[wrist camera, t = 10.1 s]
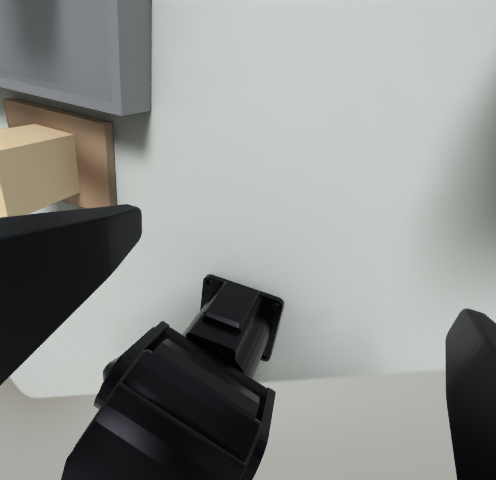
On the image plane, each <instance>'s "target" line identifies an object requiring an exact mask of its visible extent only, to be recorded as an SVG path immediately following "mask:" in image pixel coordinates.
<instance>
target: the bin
mask: <svg viewBox="0 0 496 480" xmlns="http://www.w3.org/2000/svg"><path fill="white" fill-rule="evenodd" d="M0 87H2V88H6V89H10V90H15V91H19V92H23V93H27V94H31V95H35V96H40V97H44V98H48V99H52V100H56V101H60V102H64V103H69V104H73V105H77V106H81V107H85V108H89V109H94V110H98V111H102V112H106V113H110V114H114V115H119V116H125V115H131V114H136V113H142V112H147V111H151V0H0Z"/></svg>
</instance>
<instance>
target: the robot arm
mask: <svg viewBox="0 0 496 480" xmlns="http://www.w3.org/2000/svg"><path fill="white" fill-rule="evenodd" d="M141 234H142V214H141V210H140V209H139V208H138V207H135V206H132V205H128V204H125V205H115V206H106V207H96V208H87V209H77V210H68V211H58V212H48V213H39V214H29V215H20V216H10V217H1V218H0V385H1V384H2V383H3V382H4V381H5V380H6V379H7V378H8V377H9V376H10V375H11V374H12V373H13V372H14V371H15V370H16V369H17V368H18V367H19V366H20V365H21V364H22V363H23V362H24V361H25V360H26V359H27V358H28V357H29V356H30V355H31V354H32V353H33V352H34V351H35V350H36V349H37V348H38V347H39V346H40V345H41V344H42V343H43V342H44V341H45V340H46V339H47V338H48V337H49V336H50V335H51V334H52V333H53V332H54V331H55V330H56V329H57V328H58V327H59V326H60V325H61V324H62V323H63V322H64V321H65V320H66V319H67V318H68V317H69V316H70V315H71V314H72V313H73V312H74V311H75V310H76V309H77V308H78V307H79V306H80V305H81V304H82V303H83V302H84V301H85V300H86V299H87V298H88V297H89V296H90V295H91V294H92V293H93V292H94V291H95V290H96V289H97V288H98V287H99V286H100V285H101V284H102V283H103V282H104V281H105V280H106V279H107V278H108V277H109V276H110V275H111V274H112V273H113V272H114V271H115V269H116V268H117V267H118V266H119V264H120V263H121V262H122V261H123V260H124V258H125V257H126V256H127V255H128V253H129V252H130V251H131V250H132V248H133V247H134V246H135V245H136V243H137V242H138V241H139V239H140V237H141ZM209 280H210V281H211V282H212V283H211V282H210V281H209ZM275 303H278V304H279V305H276V304H275ZM283 307H284V301H283V300H282V299H281V298H279V297H276V296H273V295H270V294H267V293H264V292H261V291H258V290H255V289H252V288H249V287H246V286H244V285H241V284H238V283H235V282H232V281H229V280H226V279H223V278H220V277H217V276H214V275H210V274H209V275H207V276H206V277H205V278H204V280H203V290H202V300H201V310H200V312H199V313H198V315H197V316H196V317H195V319H194V320H193V321H192V323H191V324H190V325H189V327H188V328H187V329H186V331H185V332H184V333H183V335H182V334H180V333H178V332H177V331H175V330H174V329H172V328H170V327H169V325H168V324H167V323H165V322H164V321H162V322H161V323H159V324H158V325H157V326H156V327H155V328H154V327H153V328H151V329H150V330H149V331H148V332H147V333H146V334H145V335H144V336H142V337H141V338H140V339H139V340H138V341H137V342H136V343H135V344H133V345H132V346H131V347H130V348H129V349H128V350H127V351H126V352H124V353H123V354H122V355H121V356H120V357H118V358H117V359H115V360H113V361H111V362H110V363H109V364H108V365H107V366H106V367H105V369H104V371H103V379H104V382H103V384H102V386H101V388H100V391H99V393H98V394H97V396H96V399H95V401H94V406H95V407H97V408H98V409H100V410H99V411H98V413H97V414H96V415H95V417H94V419H93V420H92V422H91V423H90V424H89V426H88V427H87V429H86V430H85V432H84V434H83V435H82V436H81V438H80V439H79V441H78V442H77V444H76V446H75V447H74V449H73V451H72V452H71V454H70V455H69V456H68V458H67V460H66V463H65V467H64V471H63V475H62V479H61V480H252V479H253V477H254V475H255V473H256V471H257V469H258V467H259V464H260V462H261V459H262V457H263V454H264V451H265V448H266V445H267V441H268V436H269V430H270V424H271V418H272V411H273V405H274V399H275V393H276V392H275V391H273V390H272V389H270V388H266V387H264V386H263V385H261V384H259V383H258V382H256V381H255V380H253V379H252V378H253V375H254V373H255V371H256V368H257V366H258V363H259V361H260V360H262V361H268V360H269V359H270V356H271V353H272V349H273V345H274V342H275V338H276V334H277V330H278V326H279V322H280V318H281V315H282V311H283ZM264 354H265V355H264ZM446 400H447V408H448V416H449V423H450V430H451V438H452V444H453V451H454V460H455V467H456V474H457V480H496V323H494V322H493V321H492V320H491V319H490V318H489V317H487V316H486V315H485V314H483V313H481V312H478V311H474V310H471V309H467V308H466V309H463V310H462V311H461V312H460V313H459V315H458V317H457V318H456V320H455V322H454V323H453V325H452V327H451V328H450V330H449V332H448V334H447V337H446Z"/></svg>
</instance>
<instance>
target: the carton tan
mask: <svg viewBox="0 0 496 480" xmlns="http://www.w3.org/2000/svg"><path fill="white" fill-rule="evenodd" d="M77 193H80V187H79V178H78V168H77V158H76V149H75V139H74V134H71V133H67V132H63V131H60V130H56V129H52V128H49V127H45V126H41V125H38V124H31V125H25V126H19V127H13V128H7V129H1V130H0V218H1V217H10V216H20V215H27V214H29V213H32V212H34V211H36V210H39V209H41V208H44V207H46V206H48V205H51V204H53V203H56V202H58V201H61V200H63V199H65V198H68V197H70V196H73V195H75V194H77Z"/></svg>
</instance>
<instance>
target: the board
mask: <svg viewBox="0 0 496 480" xmlns="http://www.w3.org/2000/svg"><path fill="white" fill-rule="evenodd" d="M3 102H4V107H5V112H6V117H7V122H8V127H9V128H13V127H19V126H25V125H31V124H38V125H41V126H45V127H49V128H52V129H56V130H60V131H63V132H67V133H71V134H74V139H75V149H76V158H77V168H78V178H79V187H80V193H77V194H75V195H73V196H70V197H68V198H65V199H63V200H62V201H65V202H68V203H71V204H75V205H78V206H81V207H84V208H96V207H106V206H115V205H117V198H116V179H115V160H114V141H113V123H111V122H107V121H103V120H99V119H95V118H91V117H87V116H83V115H79V114H75V113H71V112H67V111H63V110H59V109H55V108H51V107H47V106H43V105H39V104H34V103H30V102H26V101H22V100H18V99H14V98H8V99H3Z"/></svg>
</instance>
